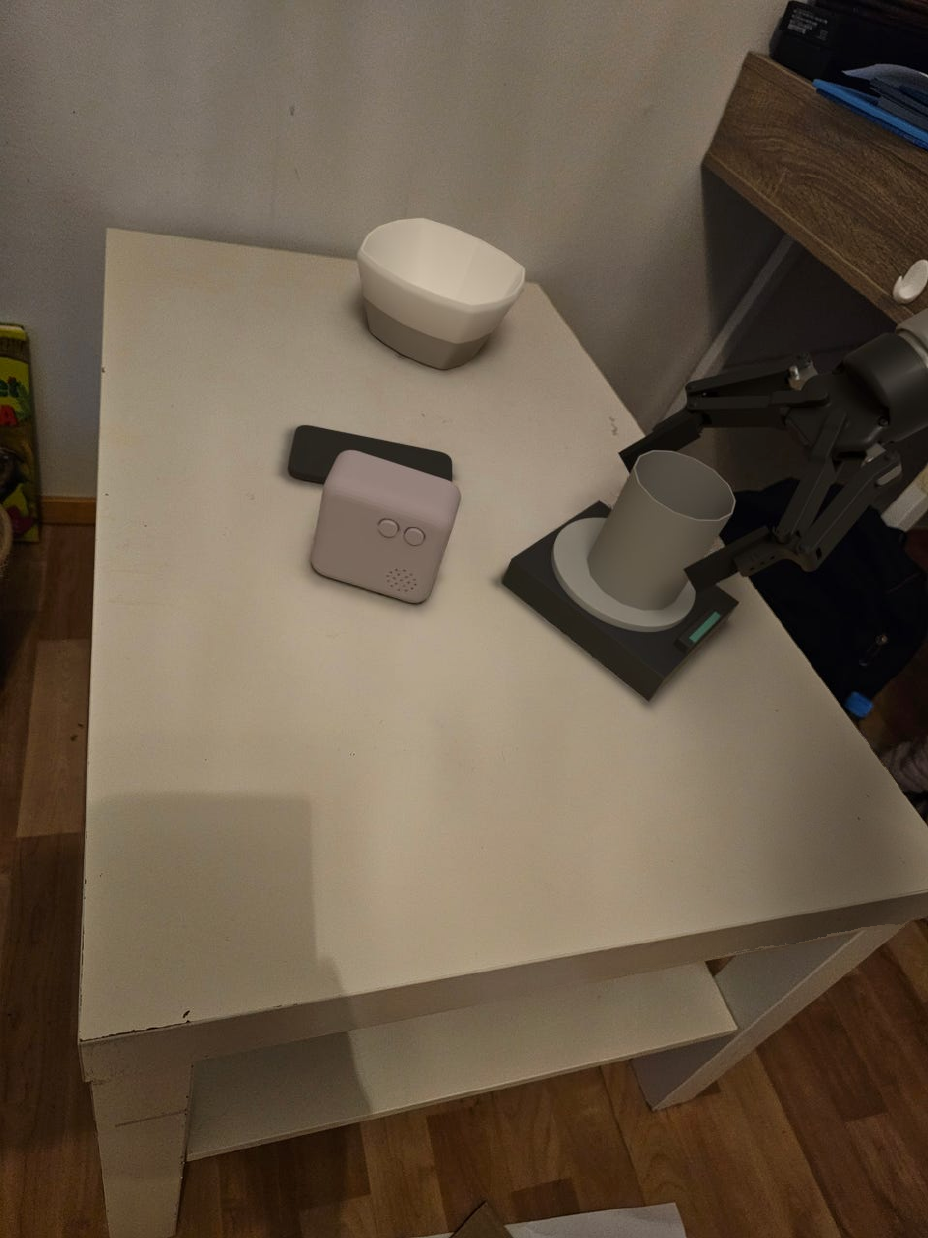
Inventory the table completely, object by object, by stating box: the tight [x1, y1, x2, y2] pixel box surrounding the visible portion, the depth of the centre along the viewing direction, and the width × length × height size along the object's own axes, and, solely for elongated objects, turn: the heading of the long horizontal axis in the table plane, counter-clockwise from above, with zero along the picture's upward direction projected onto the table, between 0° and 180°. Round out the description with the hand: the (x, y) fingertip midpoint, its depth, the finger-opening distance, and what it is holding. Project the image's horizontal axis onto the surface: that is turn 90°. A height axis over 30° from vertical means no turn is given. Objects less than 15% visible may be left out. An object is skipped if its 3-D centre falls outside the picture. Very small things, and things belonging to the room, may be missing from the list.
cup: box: [587, 450, 737, 610], centre depth 68 cm, size 8×8×10 cm
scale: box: [501, 499, 740, 702], centre depth 73 cm, size 16×14×4 cm
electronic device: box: [310, 450, 462, 604], centre depth 65 cm, size 10×5×10 cm, turn 80°
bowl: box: [356, 217, 527, 370], centre depth 93 cm, size 18×18×9 cm
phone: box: [287, 424, 453, 484], centre depth 77 cm, size 7×1×15 cm
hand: (654, 520), depth 66 cm, fingers open, 13 cm apart
